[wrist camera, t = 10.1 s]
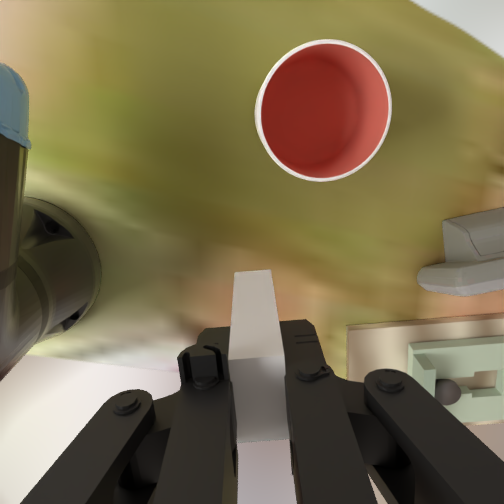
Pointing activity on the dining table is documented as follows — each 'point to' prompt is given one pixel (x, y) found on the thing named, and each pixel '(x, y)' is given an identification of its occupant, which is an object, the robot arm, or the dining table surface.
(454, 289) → the digital clock
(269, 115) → the cup
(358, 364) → the board
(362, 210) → the dining table surface
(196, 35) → the dining table surface
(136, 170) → the dining table surface
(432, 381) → the panel
